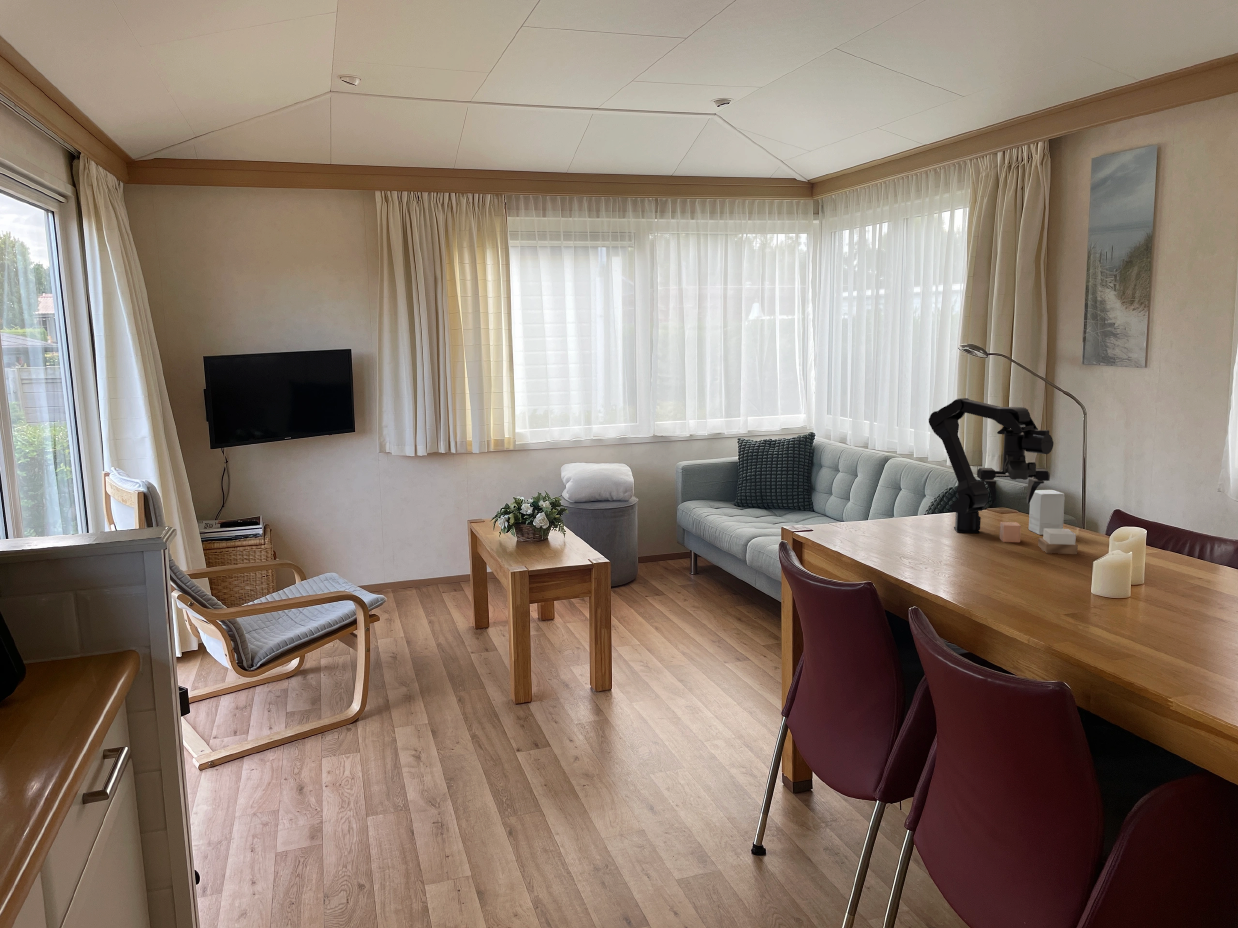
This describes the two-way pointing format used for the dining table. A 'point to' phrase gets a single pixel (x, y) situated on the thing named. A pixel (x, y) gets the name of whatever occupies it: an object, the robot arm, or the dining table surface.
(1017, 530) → the terracotta block
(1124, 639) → the dining table surface
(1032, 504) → the supplement box
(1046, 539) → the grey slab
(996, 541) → the dining table surface
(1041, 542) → the walnut slab
